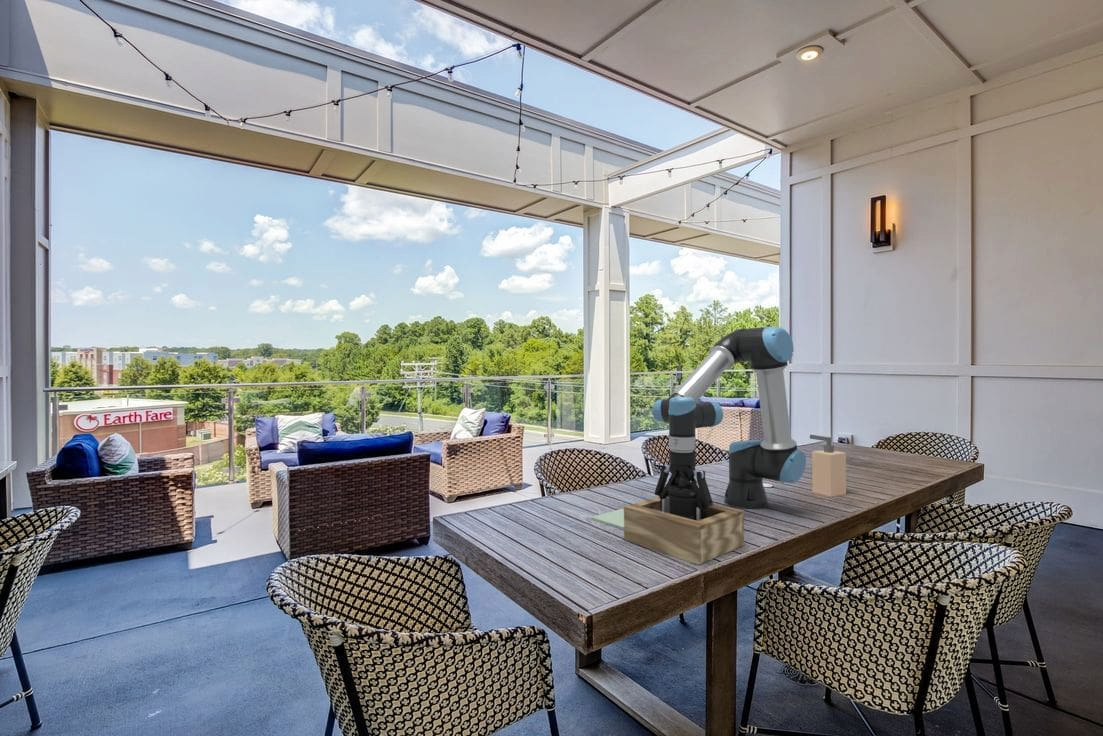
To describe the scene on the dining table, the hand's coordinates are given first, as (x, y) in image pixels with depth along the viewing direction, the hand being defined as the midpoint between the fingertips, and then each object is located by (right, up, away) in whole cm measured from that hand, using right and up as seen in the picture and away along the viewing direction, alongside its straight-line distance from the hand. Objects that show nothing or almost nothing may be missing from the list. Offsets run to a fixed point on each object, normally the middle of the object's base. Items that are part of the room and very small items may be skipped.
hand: (682, 525), depth 156 cm
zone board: (-14, -5, +23) cm, 27 cm away
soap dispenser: (+70, -4, +57) cm, 90 cm away
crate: (0, -5, 0) cm, 5 cm away
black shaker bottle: (0, -5, 0) cm, 5 cm away
